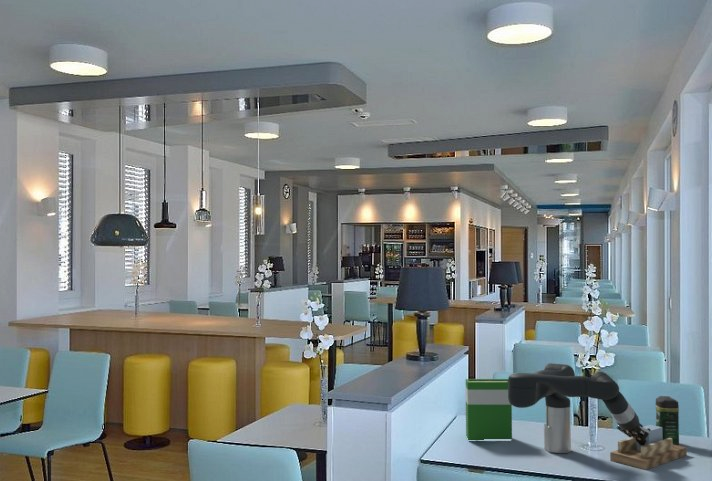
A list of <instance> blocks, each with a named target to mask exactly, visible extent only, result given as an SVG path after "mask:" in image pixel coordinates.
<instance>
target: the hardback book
mask: <svg viewBox="0 0 712 481" xmlns="http://www.w3.org/2000/svg"><path fill="white" fill-rule="evenodd" d="M512 407H513V405H511V404H510V402H509V399H508V378H465V437H466V436H467V438H468V440H484V439H512V440H513V422H512V421H513V419H512V418H513V417H512V416H513V414H512V413H513V412H512V411H513V409H512ZM467 438H466V439H467ZM468 440H467V441H468Z"/></svg>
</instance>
